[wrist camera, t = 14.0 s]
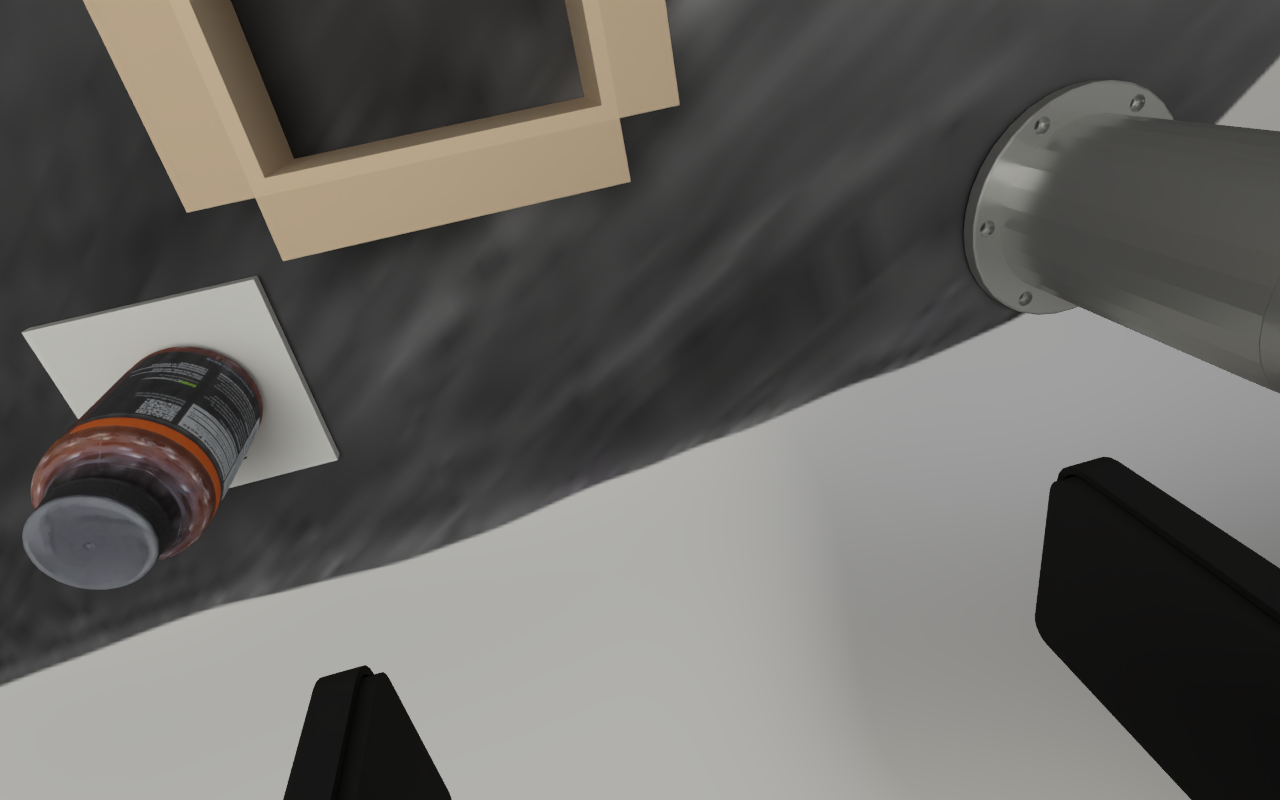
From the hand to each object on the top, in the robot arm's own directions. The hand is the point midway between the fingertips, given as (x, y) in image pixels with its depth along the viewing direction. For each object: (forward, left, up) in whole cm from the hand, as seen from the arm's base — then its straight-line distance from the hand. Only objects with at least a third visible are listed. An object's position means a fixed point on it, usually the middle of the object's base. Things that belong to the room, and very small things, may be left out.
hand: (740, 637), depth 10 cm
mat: (+19, +5, -28) cm, 34 cm away
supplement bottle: (+18, +5, -27) cm, 33 cm away
